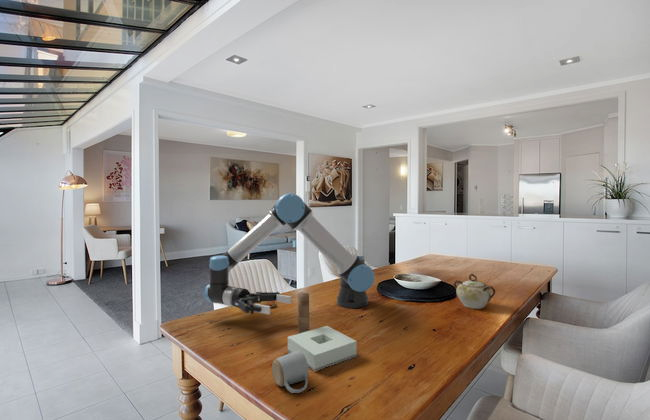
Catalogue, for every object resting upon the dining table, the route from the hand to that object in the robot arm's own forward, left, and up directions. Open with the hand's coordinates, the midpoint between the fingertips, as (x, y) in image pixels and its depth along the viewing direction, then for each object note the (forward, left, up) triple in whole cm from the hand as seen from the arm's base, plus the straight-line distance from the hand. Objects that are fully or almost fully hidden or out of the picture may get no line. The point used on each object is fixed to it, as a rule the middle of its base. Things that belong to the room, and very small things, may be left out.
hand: (280, 305), depth 123 cm
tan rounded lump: (-34, +11, -11) cm, 37 cm away
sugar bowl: (+26, +87, -11) cm, 91 cm away
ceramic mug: (+32, -13, -11) cm, 37 cm away
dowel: (+9, +5, -11) cm, 15 cm away
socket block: (+23, +3, -11) cm, 25 cm away
